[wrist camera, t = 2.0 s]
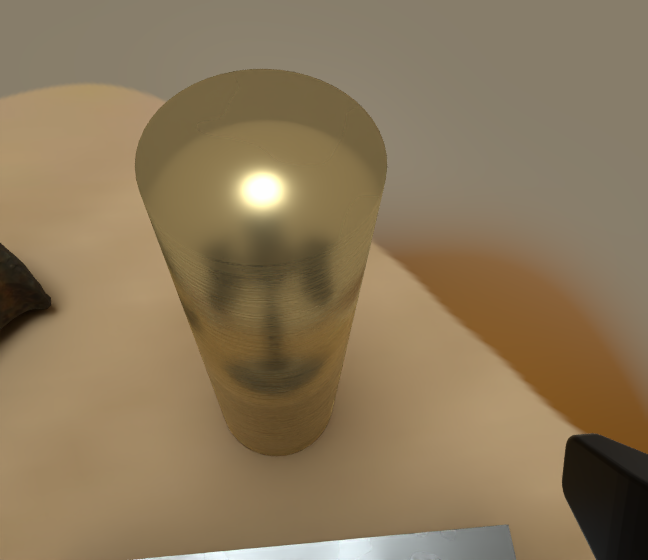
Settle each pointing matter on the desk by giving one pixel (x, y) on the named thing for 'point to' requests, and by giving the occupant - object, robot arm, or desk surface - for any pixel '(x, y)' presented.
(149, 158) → the brass hinge pin
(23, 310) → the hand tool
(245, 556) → the plate with ring collar
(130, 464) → the desk surface
